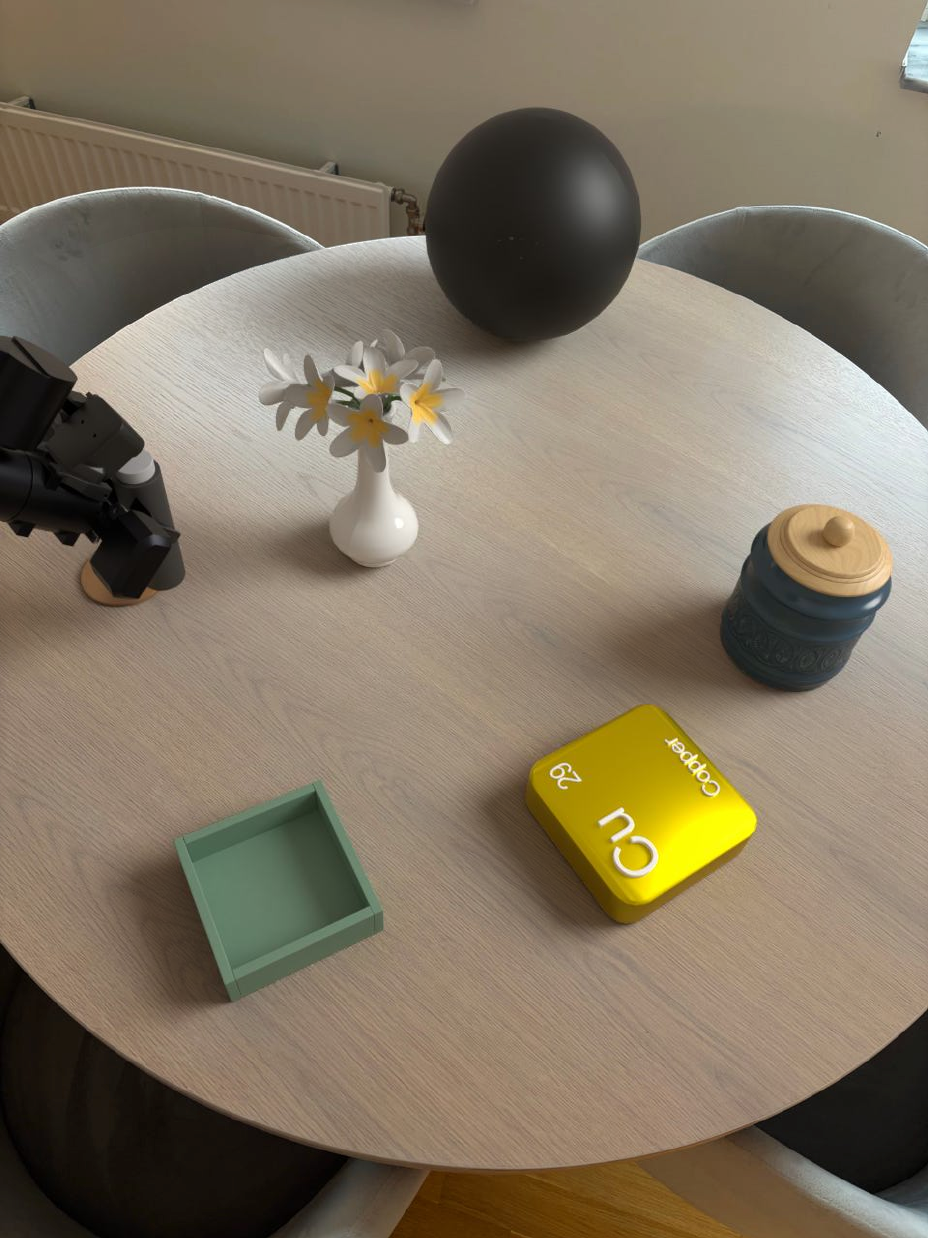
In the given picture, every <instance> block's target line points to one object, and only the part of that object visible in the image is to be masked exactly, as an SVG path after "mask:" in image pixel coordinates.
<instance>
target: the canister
mask: <svg viewBox="0 0 928 1238" xmlns="http://www.w3.org/2000/svg"><path fill="white" fill-rule="evenodd" d="M893 569H894V558H893V553H892V550H891V548H890V545H889V544H888V542H887V541H886V539H885V537H883V535H882V534H881V533H880V531H878V530H877V529H876V528H875V527H874V525H872V524H870V523H869V522H867V520H865V519H864V518H862V517H860V516H859V515H856V514H854V513H852V512H850V511H847V510H845V509H842V508H839V507H836V506H832V505H827V504H822V503H821V504H820V503H807V504H806V503H805V504H798V505H795V506H791V507H788V508H786V509H785V510H783V511H781V512H779V513H778V514H777V515H776V516H775V517H774V518H773V519H772V520H771V521H770V522H769V523H766V525H764V526H763V527H762V528H760V530H758V532H756V534H755V536H754V538H753V539H752V542H751V545H750V551H749V554H748V555H747V556H746V558H745V560H744V561H743V563H742V566H741V569H740V573H739V574H740V575H739V577H738V579H737V581H736V584H735V586H734V588H733V590H732V593H731V594H730V595H729V597H728V598H727V600H726V602H725V604H724V606H723V609H722V612H721V616H720V626H719V636H720V641H721V644H722V646H723V649H724V650H725V652H726V655H727V656H728V657H729V659H730V660H731V661H732V663H733V664H734V665H736V667H737V668H738V669H739V670H741V672H743V673H744V674H745V675H747V676H748V677H750V678H752V679H753V680H755V681H756V682H759V683H761V684H763V685H765V686H768V687H771V688H773V689H777V690H783V691H790V692H803V691H804V692H805V691H810V690H814V689H817V688H820V687H822V686H824V685H826V684H827V683H828V682H830V681H832V679H833V678H834V677H836V676H837V675H838V674H839V673H840V672H841V671H842V670H843V669H844V668H845V666H846V664H847V663H848V661H849V660H850V658H851V656H852V652H853V650H854V649H855V647H856V645H857V644H858V642H859V641H860V639H861V637H862V636H863V634H864V633H865V632H866V631H867V630H868V629H869V628H870V627H871V626H872V624H873V622H874V620H875V619H876V615H877V612H878V611H879V610H880V609H881V608H882V607H883V606H884V605H885V604H886V603H887V602H888V599H889V597H890V594H891V591H892V586H893V581H892V572H893Z"/></svg>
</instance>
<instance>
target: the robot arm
mask: <svg viewBox="0 0 928 1238" xmlns="http://www.w3.org/2000/svg"><path fill="white" fill-rule="evenodd" d="M78 380H79V378H78V375H77V374H76V373H75V372H74V370H73V369H72V368H70V366H68V365H67V364H66V363H65V362H64V361H62V360H61V359H59V357H56V356H55V355H54V354H52V353H51V352H49V351H47V350H46V349H44V348H42V347H40V346H39V345H37V344H35V343H33V342H31V341H29V340H27V339H25V338H23V337H19V336H17V335H13V336H12V337H11V336H7V335H0V522H3V523H6V524H7V525H8V526H9V528H10V529H11V530H12V532H13V533H14V534H15V535H16V536H18V537H23V538H29V537H30V535H31V533H32V532H33V530H34V529H35V530H40V531H44V532H49V533H52V534H53V535H54V536H55V537H56V539H57V540H58V541H59V542H60V544H61V545H62V546H67V547H72V548H73V547H74V546H75V544H76V543H77V541H78V540H79V538H80V536H81V535H84V536H85V537H86V538H87V540H89V542H90V543H91V544H92V545H97V544H99V545H98V546H97V547H96V550H95V551H94V552H93V555H92V556H91V557H92V558H91V557H90V558H91V559H90V558H89V559H90V561H89V562H90V565H91V567H92V570H93V572H94V574H95V575H96V576H97V577H98V579H99V580H100V581H101V582H102V584H103V585H104V586H105V587H106V589H107V590H108V591H109V592H110V593H111V595H112V596H113V597H114V598H121V599H127V600H136V599H139V598H140V597H141V595H142V594H143V592H144V591H145V589H146V587H147V586H148V584H149V583H150V581H151V580H152V578H153V577H154V575H155V573H156V572H157V570H158V569H159V567H160V566H161V564H162V562H163V561H164V559H165V558H166V556H167V555H168V553H169V551H170V550H171V548H172V544H175V543H176V542H177V540H178V541H179V539H180V537H181V535H182V534H181V533H180V532H179V530H177V529H176V528H175V529H173V528H171V527H169V526H167V525H164V524H162V523H160V522H158V521H155V520H154V518H153V515H152V514H151V513H150V511H149V510H148V509H147V508H146V507H145V506H144V505H143V504H142V503H141V501H140V500H139V499H138V498H137V497H136V498H135V499H134V501H133V502H132V504H131V506H130V507H129V508H127V507H124V506H123V505H122V504H120V503H119V502H118V499H117V495H116V492H115V489H114V486H113V482H112V479H111V477H112V476H113V475H114V474H116V473H117V472H118V471H119V470H120V469H121V468H122V467H123V466H124V465H125V464H126V463H127V462H129V461H130V460H131V459H132V458H134V457H137V456H138V455H139V454H140V453H141V452H142V450H143V449H145V440H144V438H143V437H142V436H141V435H140V434H139V433H138V432H137V431H136V430H135V428H134V427H132V425H131V424H130V423H129V422H128V421H127V420H126V419H125V418H124V417H123V416H122V415H121V414H120V413H119V412H117V410H115V409H114V408H113V406H112V405H110V404H109V403H108V401H106V400H105V399H104V398H103V397H101V396H100V395H99V394H97V393H94V394H93V393H91V392H90V391H87V392H86V393H85V395H84V394H83V393H82V392H80V391H76V390H73V389H74V388H75V385H76V384H77V382H78ZM99 542H100V543H99Z"/></svg>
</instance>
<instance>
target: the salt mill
mask: <svg viewBox="0 0 928 1238" xmlns="http://www.w3.org/2000/svg"><path fill="white" fill-rule="evenodd" d="M111 479H112V482H113V486H114V489H115V492H116V495H117V499H118V502H119V503H120V504H122V505H123V506H124V507H127V508H129V507H130V506H131V504H132V502H133V501H134V499H135V498H136V497H137V498H138V499H139V500H140V501H141V503H142V504H143V505H144V506H145V507H146V508H147V509H148V510H149V511H150V513H151V514H152V515H153V518H154V520H155V521H158V522H160V523H162V524H164V525H167V526H169V527H171V528H173V529H175V530H176V527H175V523H174V518H173V514H172V511H171V505H170V502H169V498H168V494H167V490H166V486H165V482H164V478H163V473H162V469H161V466H160V464H159V462H158V461H156V460H155V459H154V458H153V455H152V454H151V453H150V451H148V450H146V449H145V448H143V450H142V452H141V453H140V454H139V455H138V456H137V457H134V458H132V459H131V460H130V461H129V462H127V463H126V464H125V465H124V466H123V467H122V468H121V469H120V470H119V471H118V472H117V473H116V474H114V475H113V476H112V477H111ZM184 563H185V562H184V560H183V556H182V552H181V547H180V543H179V539H178V540H177V542H176V543H175V544H172V548H171V550H170V551H169V553H168V555H167V556H166V558H165V559H164V561H163V562H162V564H161V566H160V567H159V569H158V570H157V572H156V573H155V575H154V577H153V578H152V580H151V581H150V583H149V584H148V586H147V587H148V588H150V589H152V590H156V591H158V592H163V591H164V592H165V591H169V590H173V589H174V588H177V587H178V586H179V585H180V584H182V582H183V581H184V580H185V577H186V568H185V564H184Z"/></svg>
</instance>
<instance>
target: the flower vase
mask: <svg viewBox="0 0 928 1238" xmlns="http://www.w3.org/2000/svg"><path fill="white" fill-rule="evenodd" d="M382 335H383V339H384V342H385V345H386V348H387V349H386V348H385V347H384V346H381V345H378V344H377V343H378V339H375V340H373V342H371V343H370V344H369V345H368V346H367V347H366V348H365V349H364V343H363V341H362V340H358V341H357V342H355V343H354V344H353V345H352V346H351V348H350V350H349V351H348V353H347V355H346V358H345V364H339V365H336V366H334V367H331V368H328V369H326V370H324V371H322V372H321V373H320V371H319V368H318V367H317V364H316V362H315V360H314V358H313V356H312V355H311V354H310V353H307V354H305V356H304V358H303V366H302V367H303V374H304V378H305V381H306V382H307V383H301V381H300V380H299V379H298V377H297V375H296V372H295V370H294V368H293V365H292V362H291V358H290V355H289V354H288V352H284V353H283V355H282V358H281V360H279V358H278V357H277V356H276V355H275V353H274V352H273V351H272V350H271V349H270V348H269V347H265V348H264V349H263V353H262V354H263V359H264V363H265V366H266V368H267V370H268V371H269V373H270V375H271V376H272V377H274V378H275V379H277V380H270V381H268V382H266V383H265V384H263V385H262V386H261V387H260V389H259V390H258V391H259V392H258V396H257V397H258V401H259V402H260V404H262V405H263V406H268V407H269V406H273V405H276V404H279V403H280V404H279V405H278V407H277V409H276V413H275V426H276V430H277V432H281V431H282V430H283V428H284V426H285V425H286V422H287V419H288V417H289V415H290V413H291V411H292V410H294V409H296V407H297V408H300V409H306V410H305V411H303V412H302V413H301V414H300V416H299V417H298V419H297V422H296V423H295V429H294V439H296V441H298V442H299V441H302V440H303V439H304V438H305V437H307V435H308V434H309V433H310V431H311V430H312V429H313V427H314V426H315V425H316V429H317V433H318V434H319V436H321V437H326V436H327V435H328V433H329V426H330V420H331V421H332V422H333V423H334V424H336V425H338V426H341V427H345V429H343V431H342V432H340V433H339V434H338V435H336V437H335V438H334V439H333V440H332V441H331V443H330V445H329V449H328V451H329V454H330V455H331V456H332V457H334V458H345V457H347V456H351V455H352V454H353V453H355V452H356V451H357V465H356V467H357V468H356V481H355V485H354V487H353V490H351V491H349V492H348V493H347V494H346V495H344V496H343V497H341V498H340V500H339V501H337V504H336V505H334V508H333V509H332V513H331V516H330V519H329V534H330V537H331V539H332V542H333V543H334V545H335V546H336V547H337V549H339V551H340V552H341V553H343V554H344V555H345V556H347V557H349V558H350V559H351V560H352V561H353V562H355V563H356V564H358V565H359V566H363V567H365V568H372V569H375V568H383V567H386V566H389V565H391V564H394V563H395V562H396V561H398V560H399V559H400V557H402V556H404V555H405V554H406V553H407V552H408V551H409V550H411V549H412V547H413V546H414V544H415V542H416V541H417V538H418V535H419V531H420V525H419V517H418V514H417V512H416V510H415V508H414V506H413V504H412V503H411V501H409V500H408V499H407V498H406V497H405V496H404V495H403V494H402V493H400V492H398V491H396V490H395V489H394V487H393V484H392V480H391V474H390V457H389V445H392V446H398V445H404V444H406V443H407V442H408V441H409V443H410V444H417V443H418V442H419V441H421V439H423V437H424V436H425V432H426V429H427V428H428V430H430V432H431V433H432V434H433V436H434V437H435V438H436V439H437V440H438V441H439V442H440V443H441V444H443V445H446V446H449V445H450V444H452V443H453V439H454V432H453V428H452V425H451V423H450V421H449V420H448V418H447V417H446V416H445V415H444V414H443V413H441V412H444V413H445V412H450V411H454V410H456V409H457V408H459V407H461V406H462V405H463V404H464V403H465V401H466V400H467V391H466V390H465V389H464V388H462V387H459V386H449V387H444V388H441V389H438V388H440V386H441V384H442V382H446V381H447V377H446V376H445V375H444V374H443V366H442V363H441V360H439V359H436V352H435V351H434V350H433V349H432V347H429V346H416V347H414V348H411V349H410V350H409V351H408V352H407V353H406V352H405V346H404V344H403V342H402V340H401V339H400V337H399V336H398V335H396V334H395V333H394V332H393V331H392V330H390V329H388V328H384V329H383V330H382ZM387 365H388V369H387ZM426 366H427V368H425V367H426ZM403 380H404V381H416V380H418V381H419V380H421V381H422V382H421V383H420V384H419V385H418V384H415V383H413V382H403ZM346 388H354V390H353V391H350V390H348V389H346ZM334 392H338V393H341V394H343V395H346V396H347V397H350V398H351V399H350V400H343V399H335V398H333V395H334ZM395 401H400V402H403V403H404V405H405V406H406V407H408V408H409V409H410V418H409V422H408V425H407V430H405V429H404V428H402V427H400V426H399V425H396V424H394V423H392V422H393V420H394V418H395V417H396V415H397V412H398V409H397V404H396V402H395Z"/></svg>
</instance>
